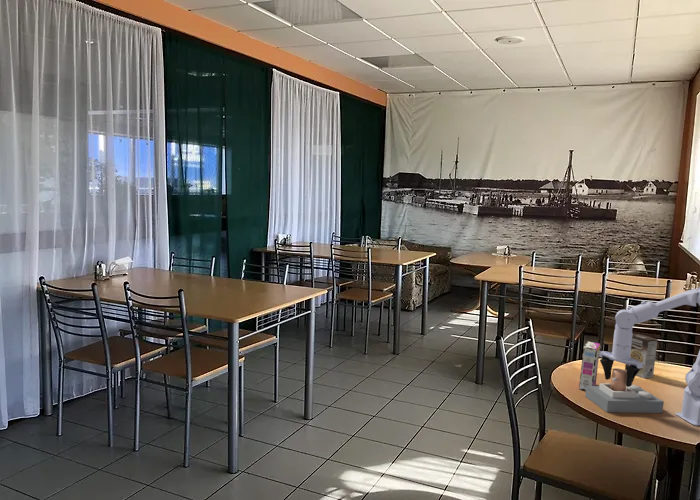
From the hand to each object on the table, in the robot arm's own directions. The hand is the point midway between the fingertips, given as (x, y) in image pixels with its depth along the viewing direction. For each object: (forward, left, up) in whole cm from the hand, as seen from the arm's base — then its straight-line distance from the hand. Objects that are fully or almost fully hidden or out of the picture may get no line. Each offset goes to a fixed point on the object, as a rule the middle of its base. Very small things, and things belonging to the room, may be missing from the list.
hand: (618, 382), depth 190 cm
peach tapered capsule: (0, 0, -4) cm, 4 cm away
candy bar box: (+17, +1, -8) cm, 19 cm away
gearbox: (0, -2, -8) cm, 8 cm away
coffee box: (+33, -30, -8) cm, 45 cm away
